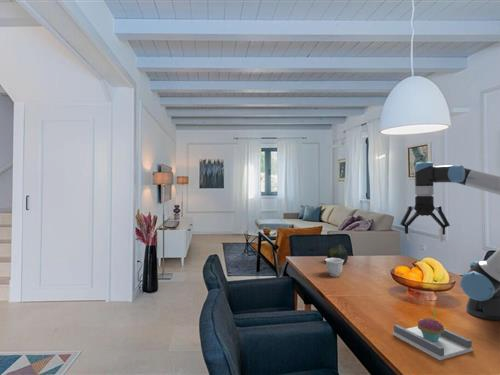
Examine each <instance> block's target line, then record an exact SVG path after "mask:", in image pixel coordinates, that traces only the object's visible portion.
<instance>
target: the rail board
mask: <svg viewBox="0 0 500 375" xmlns="http://www.w3.org/2000/svg"><path fill="white" fill-rule="evenodd" d="M422 319H423V318H420V319H419V321H420V320H422ZM392 335H393V336H395V337H396V338H398V339H400V340H401V341H403V342H406V343H407V344H410V345H411V346H413V347H414V348H417V349H418V350H420V351H422V352H423V353H426V354H428V355H429V356H430V357H432V358H435V359H436V360H439V361H443V360H446V359H450V358H453V357H456V356H460V355H463V354H466V353H470V352H473V346H472V342H473V341H472V340H471V339H470V338H466V337H464V336H462V335H460V334H458V333H455V332H453V331H451V330H448V329H446V328H444V332H443V333H441V334H440V337H439V339H438V341H437V342H431V341H429V340H427V339H425V338H424V337H423V334H422V332H421V330H420V329H418V325H417V326H413V327H412V326H411V327H408V328H406V327H403V326H401V325H399V324H393V332H392Z"/></svg>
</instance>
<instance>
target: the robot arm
mask: <svg viewBox="0 0 500 375" xmlns="http://www.w3.org/2000/svg"><path fill="white" fill-rule="evenodd" d="M414 166H415V168H414V189H415V190H414V194H415V197H414V199H415V200H414V201H415V202H414V203H415V204H414V206H412V205H408V206H407V211H406V212H405V214H404V216H403V218H402V220H401V221H400V226H403V227H404V234H406V241H407V242H411V224H412V223H413V222H414V221H415V220H416V219H417V218H418V217H419V216H421V217H423V216H427V217H429V216H430V217H431V218H432V219H433V220H435V222H436V223H437V224H438V225H439V227H438V241H439V242H440V243H443V242H444V241H443V240H444V239H443V238H444V237H443V236H444V235H446V228H447V227H450V226H451V225H450V223H449V221H448V219H447V218H446V214H445V213H444V212H443V207H442V205H441V206H440V205H437V206H434V203H435V202H434V196H433V195H434V193H435V192H434V184H435V183H437V184H438V183H452V184H453V183H456V184H460V185H464V186H467V187H471V188H473V189H474V188H475V189H477V190H481V191H483V192H488V193H492V194H495V195H497V196H498V195H499V196H500V176H498V175H494V174H490V173H486V172H482V171H480V170H479V171H478V170H475V169H474V170H473V169H470V168H467V167H464V165H461V164H450V165H434V163H433V161H420V162H416V163H415V165H414ZM414 210H415V212H414V213H413V215H412V216H411V217H410V215H411V213H412V211H414ZM434 210H435V211H436V212H437V213H438V215H439V217H440V218H439V217H438V216H437V215H436V214H435V213H434ZM409 217H410V218H409ZM408 218H409V219H408ZM440 219H441V220H440ZM469 267H470V269H469V270H468V271H467V272H466V273H463V274H462V276H461V278H460V288H461V290H462V292H463V293H464V294H465V295H466V296H467V297H469V298H468V301H467V303H466V305H465V311H466V313H467V314H469V315H470V316H473V317H477V318H479V319H484V320H489V321H500V247H499V248H498V249H497V250H496V251H495V252H493V254H492V255H490V256H489V257H488V258H487V259H486V260H478V261H477V260H472V261H471V262H470V265H469Z"/></svg>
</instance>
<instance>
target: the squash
mask: <svg viewBox="0 0 500 375" xmlns="http://www.w3.org/2000/svg"><path fill="white" fill-rule="evenodd" d="M327 258H340V259H343V260H344V262H343V265H344V264H346V263H347V261H348V260H349V259H348V258H349V255H348V252H347V250H346V248H345V247H344V245H343V244H337V245H334V246H332V247H330V248H329V249H328V252H327V254H326V259H327Z"/></svg>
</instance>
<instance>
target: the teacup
mask: <svg viewBox="0 0 500 375" xmlns="http://www.w3.org/2000/svg"><path fill="white" fill-rule="evenodd" d="M324 261H325V263H326V269H327V270H326V271H327V272H328V273H329V276H330V277H333V278H335V277H340V274H341V273H342V271H343V265H344V264H343V262H344V260H343V259H340V258H327V257H326V258H325V259H324Z"/></svg>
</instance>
